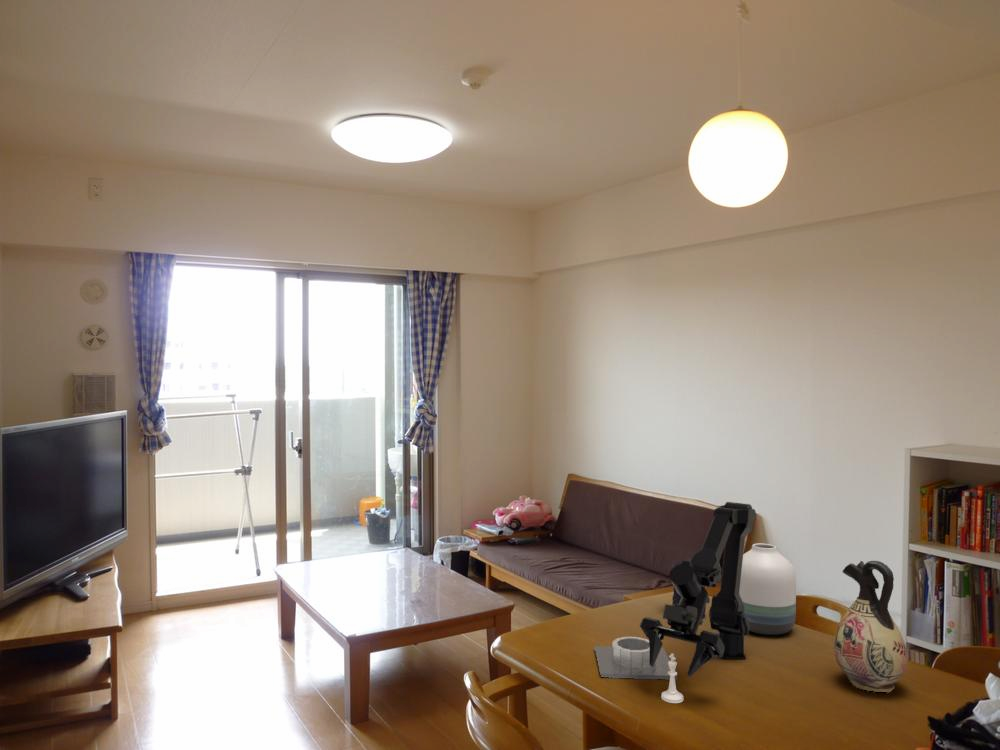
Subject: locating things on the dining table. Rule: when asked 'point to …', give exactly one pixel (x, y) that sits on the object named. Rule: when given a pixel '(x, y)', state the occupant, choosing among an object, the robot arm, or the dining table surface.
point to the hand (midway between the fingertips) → (669, 670)
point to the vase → (768, 590)
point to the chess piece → (672, 684)
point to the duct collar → (631, 660)
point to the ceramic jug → (870, 633)
